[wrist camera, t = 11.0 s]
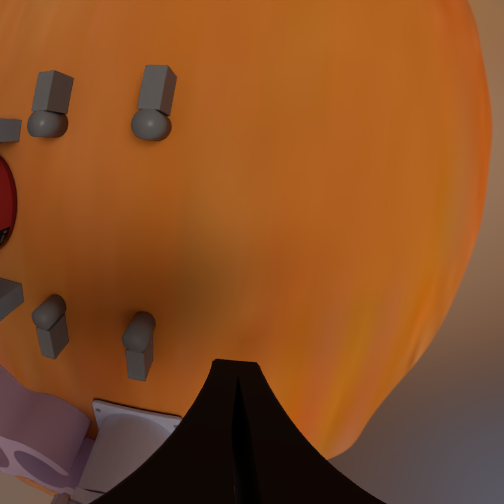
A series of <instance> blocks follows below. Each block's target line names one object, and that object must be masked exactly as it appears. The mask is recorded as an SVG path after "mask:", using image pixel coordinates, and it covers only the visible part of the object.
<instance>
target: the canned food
mask: <svg viewBox="0 0 504 504" xmlns="http://www.w3.org/2000/svg"><path fill="white" fill-rule="evenodd" d="M16 208H17V199H16V189H15V183H14V180H13V176H12V173H11V171H10V169H9V167H8V165H7V163H6V162H5V161H4V159H3V158H2V157H0V248H1V247H2V246H3V244H4V243H5V242H6V241H7V239H8V238H9V236H10V234H11V232H12V230H13V226H14V223H15V217H16Z"/></svg>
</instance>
